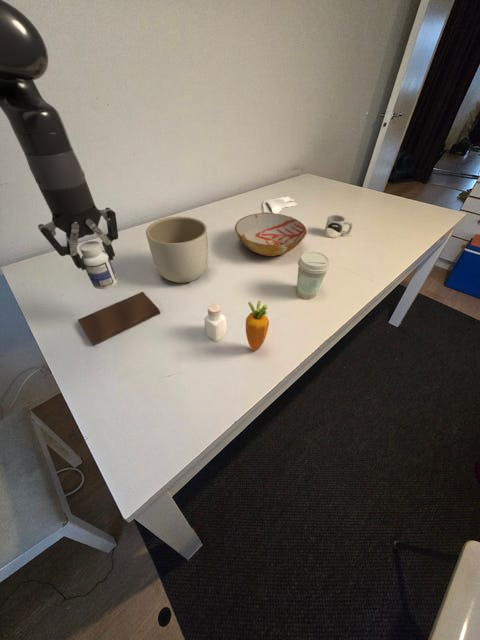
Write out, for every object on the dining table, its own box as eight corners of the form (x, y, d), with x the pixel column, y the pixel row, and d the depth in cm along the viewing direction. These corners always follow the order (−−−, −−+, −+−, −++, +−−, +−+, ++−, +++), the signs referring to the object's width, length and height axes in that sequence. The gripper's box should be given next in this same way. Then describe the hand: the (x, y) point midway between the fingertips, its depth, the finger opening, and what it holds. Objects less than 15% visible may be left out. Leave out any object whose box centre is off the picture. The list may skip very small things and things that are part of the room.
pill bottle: (100, 275, 64) (84, 238, 57) (121, 277, 63) (108, 240, 56) (88, 289, 60) (70, 250, 53) (110, 291, 59) (94, 253, 52)
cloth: (281, 195, 136) (281, 190, 134) (302, 202, 129) (303, 198, 127) (246, 209, 122) (246, 204, 121) (268, 218, 116) (269, 213, 114)
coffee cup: (287, 295, 78) (293, 260, 70) (299, 281, 83) (306, 247, 75) (313, 306, 75) (324, 271, 66) (324, 291, 80) (335, 256, 71)
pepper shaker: (216, 326, 68) (214, 298, 62) (227, 334, 67) (226, 306, 60) (205, 335, 66) (201, 307, 59) (216, 343, 64) (214, 315, 58)
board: (93, 346, 63) (91, 342, 62) (79, 323, 68) (77, 319, 67) (160, 313, 72) (159, 309, 70) (143, 295, 77) (142, 291, 76)
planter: (155, 292, 78) (142, 245, 67) (158, 261, 90) (148, 217, 79) (211, 287, 80) (208, 242, 69) (208, 257, 92) (205, 215, 81)
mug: (323, 237, 104) (327, 220, 99) (323, 229, 109) (328, 213, 104) (349, 240, 103) (355, 224, 98) (348, 232, 107) (354, 216, 103)
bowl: (253, 273, 85) (254, 252, 80) (224, 239, 102) (224, 219, 96) (316, 258, 93) (321, 237, 87) (280, 228, 109) (282, 208, 103)
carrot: (240, 348, 63) (241, 302, 53) (255, 339, 65) (260, 292, 55) (253, 362, 61) (257, 315, 50) (269, 352, 63) (276, 305, 52)
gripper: (95, 168, 51) (121, 246, 63) (9, 182, 44) (56, 267, 56) (110, 177, 47) (135, 259, 59) (18, 195, 40) (67, 283, 52)
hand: (96, 263), depth 58 cm, fingers closed on pill bottle, 5 cm apart
